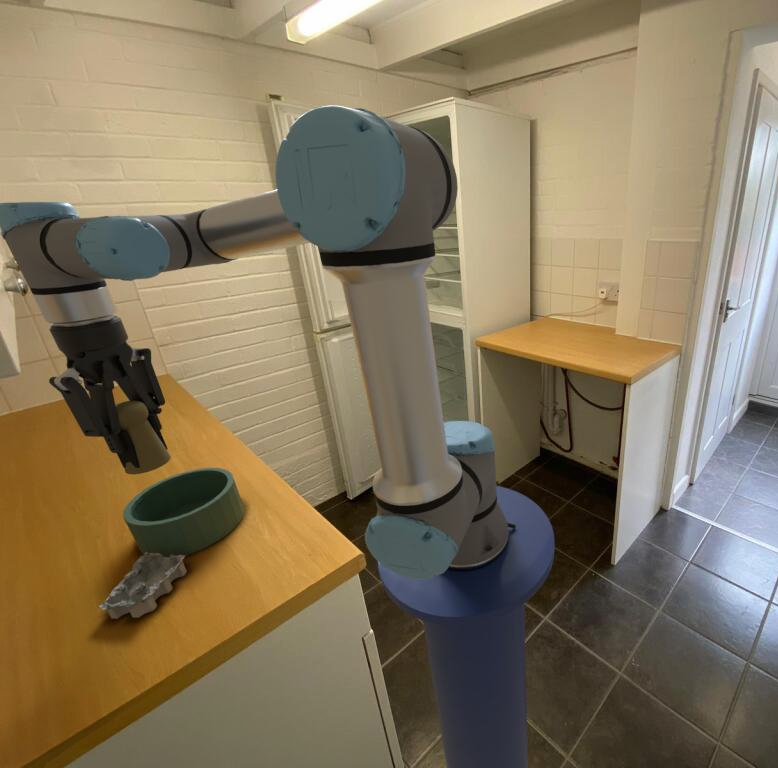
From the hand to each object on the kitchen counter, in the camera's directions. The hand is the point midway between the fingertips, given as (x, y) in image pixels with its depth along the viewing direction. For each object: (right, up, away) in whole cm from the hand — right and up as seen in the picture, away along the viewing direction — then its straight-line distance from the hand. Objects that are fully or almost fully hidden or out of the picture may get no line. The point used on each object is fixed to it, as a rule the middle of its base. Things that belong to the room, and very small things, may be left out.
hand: (146, 457), depth 69 cm
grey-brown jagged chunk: (0, -23, +1) cm, 23 cm away
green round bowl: (-3, -16, +15) cm, 22 cm away
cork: (0, -1, +1) cm, 1 cm away
